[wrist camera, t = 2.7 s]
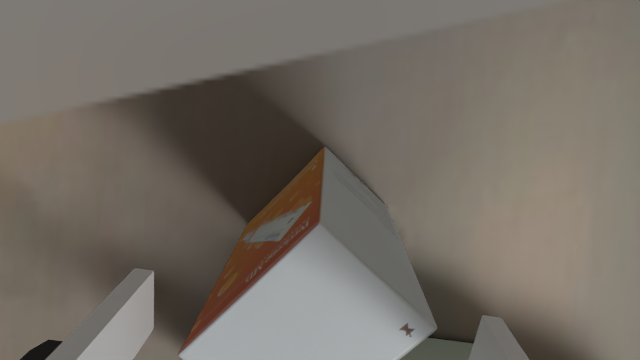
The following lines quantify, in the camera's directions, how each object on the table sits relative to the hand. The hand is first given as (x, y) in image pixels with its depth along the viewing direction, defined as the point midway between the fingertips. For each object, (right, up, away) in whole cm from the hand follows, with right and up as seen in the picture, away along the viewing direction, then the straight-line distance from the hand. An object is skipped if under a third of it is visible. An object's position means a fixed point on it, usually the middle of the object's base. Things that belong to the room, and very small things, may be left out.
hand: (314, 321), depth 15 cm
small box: (0, +3, +12) cm, 12 cm away
